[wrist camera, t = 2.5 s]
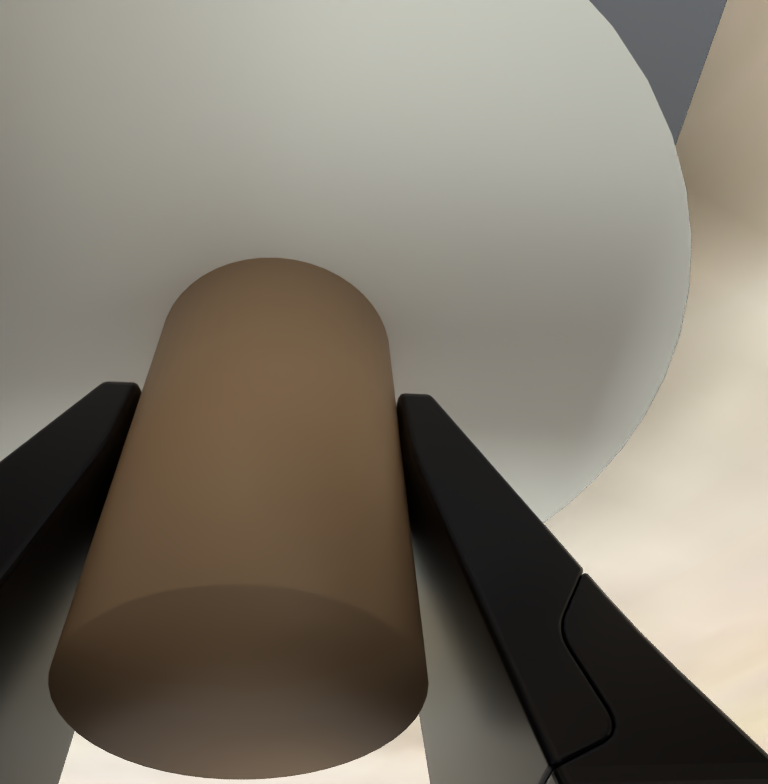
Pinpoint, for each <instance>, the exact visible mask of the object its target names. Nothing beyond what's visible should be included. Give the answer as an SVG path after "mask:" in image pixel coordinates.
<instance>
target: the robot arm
mask: <svg viewBox="0 0 768 784" xmlns="http://www.w3.org/2000/svg"><path fill="white" fill-rule="evenodd" d="M140 396H141V389H140V387H139V385H138V384H136V383H134V382H116V381H107V382H103V383H101V384H100V385H98V386H97V387H96V388H94V389H93V390H92V391H91V392H89V393H88V394H87V395H85V396H84V397H83V398H82V399H80V400H79V401H78V402H76V403H75V404H74V405H73V406H71V407H70V408H69V409H67V410H66V411H65V412H63V413H62V414H61V415H60V416H58V417H57V418H56V419H54V420H53V421H52V422H51V423H49V424H48V425H47V426H45V427H44V428H43V429H41V430H40V431H39V432H38V433H36V434H35V435H34V436H32V437H31V438H30V439H29V440H27V441H26V442H25V443H23V444H22V445H21V446H20V447H18V448H17V449H16V450H14V451H13V452H12V453H10V454H9V455H8V456H7V457H5V458H4V459H3V460H1V461H0V784H58V783H59V780H60V776H61V773H62V770H63V767H64V763H65V760H66V757H67V754H68V750H69V747H70V744H71V741H72V738H73V734H74V731H75V730H74V729H73V728H71V727H70V726H69V725H68V724H67V723H66V722H65V720H64V719H63V718H62V716H61V715H60V714H59V713H58V711H57V709H56V707H55V705H54V703H53V701H52V699H51V696H50V691H49V687H48V677H49V670H50V666H51V663H52V660H53V657H54V654H55V651H56V648H57V645H58V642H59V639H60V636H61V633H62V630H63V627H64V624H65V621H66V618H67V615H68V612H69V609H70V606H71V603H72V600H73V597H74V594H75V591H76V588H77V585H78V582H79V579H80V576H81V573H82V570H83V567H84V564H85V561H86V558H87V555H88V552H89V549H90V546H91V543H92V540H93V537H94V534H95V531H96V528H97V525H98V522H99V519H100V516H101V513H102V510H103V507H104V504H105V501H106V498H107V495H108V492H109V489H110V486H111V483H112V480H113V477H114V474H115V471H116V468H117V465H118V462H119V459H120V456H121V453H122V450H123V447H124V444H125V441H126V438H127V435H128V432H129V429H130V426H131V423H132V420H133V417H134V414H135V411H136V408H137V405H138V402H139V399H140ZM396 409H397V417H398V426H399V434H400V443H401V451H402V460H403V468H404V477H405V485H406V494H407V502H408V511H409V519H410V528H411V536H412V545H413V553H414V562H415V570H416V579H417V587H418V596H419V604H420V613H421V621H422V630H423V638H424V647H425V655H426V664H427V673H428V682H429V686H428V693H427V697H426V700H425V703H424V705H423V708H422V709H421V711H420V712H419V717H420V723H421V729H422V735H423V741H424V748H425V754H426V760H427V766H428V772H429V778H430V784H768V754H767V753H766V752H765V751H764V750H763V749H762V748H761V747H760V746H759V745H758V744H756V743H755V742H754V741H753V740H752V739H751V738H750V737H749V736H748V735H747V734H746V733H745V732H744V731H743V730H742V729H741V728H740V727H738V726H737V725H736V724H735V723H734V722H733V721H732V720H731V719H730V718H729V717H728V716H727V715H726V714H725V713H724V712H723V711H722V710H721V709H719V708H718V707H717V706H716V705H715V704H714V703H713V702H712V701H711V700H710V699H709V698H708V697H707V696H706V695H705V694H704V693H703V692H702V691H700V690H699V689H698V688H697V687H696V686H695V685H694V684H693V683H692V682H691V681H690V680H689V679H688V678H687V677H686V676H685V675H684V674H683V673H681V672H680V671H679V670H678V669H677V668H676V667H675V666H674V665H673V664H672V663H671V662H670V661H669V660H668V659H667V658H666V657H665V656H664V655H663V654H662V653H661V652H660V651H659V650H658V649H657V648H656V647H655V646H654V645H653V644H652V643H651V642H650V641H649V640H648V639H647V638H646V637H645V636H644V635H643V634H642V633H641V632H640V631H639V630H638V629H637V628H636V627H635V626H634V625H633V623H632V622H631V621H630V620H629V619H628V618H627V617H626V616H625V615H624V614H623V613H622V612H621V610H620V609H619V608H618V607H617V606H616V605H615V604H614V603H613V602H612V601H611V600H610V599H609V597H608V596H607V595H606V594H605V593H604V592H603V591H602V590H601V588H600V587H599V586H598V585H597V584H596V583H595V582H594V580H593V579H592V578H591V577H590V576H589V575H588V574H586V573H584V574H582V573H583V568H582V567H581V566H580V565H579V564H578V562H577V561H576V560H575V559H574V558H573V557H572V556H571V554H570V553H569V552H568V551H567V550H566V549H565V548H564V546H563V545H562V544H561V543H560V542H559V541H558V540H557V538H556V537H555V536H554V535H553V534H552V533H551V532H550V530H549V529H548V528H547V527H546V526H545V525H544V524H543V522H542V521H541V520H540V519H539V518H538V517H537V516H536V514H535V513H534V512H533V511H532V510H531V509H530V508H529V506H528V505H527V504H526V503H525V502H524V501H523V500H522V498H521V497H520V496H519V495H518V494H517V493H516V492H515V490H514V489H513V488H512V487H511V486H510V485H509V484H508V482H507V481H506V480H505V479H504V478H503V477H502V476H501V474H500V473H499V472H498V471H497V470H496V469H495V468H494V466H493V465H492V464H491V463H490V462H489V461H488V460H487V458H486V457H485V456H484V455H483V454H482V453H481V452H480V450H479V449H478V448H477V447H476V446H475V445H474V444H473V442H472V441H471V440H470V439H469V438H468V437H467V436H466V434H465V433H464V432H463V431H462V430H461V429H460V428H459V426H458V425H457V424H456V423H455V422H454V421H453V420H452V418H451V417H450V416H449V415H448V414H447V413H446V412H445V410H444V409H443V408H442V407H441V406H440V405H439V404H438V402H437V401H436V400H435V399H434V398H433V397H432V396H430V395H428V394H412V393H403V394H401V395H400V396H399V398H398V400H397V406H396ZM581 575H582V576H581Z"/></svg>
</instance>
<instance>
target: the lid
mask: <svg viewBox="0 0 768 784" xmlns="http://www.w3.org/2000/svg"><path fill="white" fill-rule="evenodd" d="M691 243H692V239H691V229H690V219H689V210H688V200H687V190H686V185H685V182H684V178H683V174H682V170H681V166H680V163H679V159H678V155H677V151H676V148H675V144H674V140H673V136H672V133H671V131H670V129H669V127H668V124H667V122H666V120H665V118H664V115H663V113H662V111H661V109H660V106H659V104H658V102H657V100H656V97H655V95H654V93H653V91H652V88H651V86H650V84H649V82H648V80H647V78H646V77H645V75H644V74H643V72H642V71H641V69H640V67H639V66H638V64H637V63H636V61H635V60H634V58H633V57H632V55H631V54H630V52H629V51H628V49H627V47H626V46H625V44H624V43H623V41H622V40H621V38H620V37H619V35H618V34H617V32H616V31H615V29H614V28H613V26H612V25H611V24H610V23H609V22H608V21H607V20H606V18H605V17H604V16H603V15H602V14H601V13H600V12H599V11H598V10H597V8H596V7H595V6H594V5H593V4H592V3H591V2H590V1H589V0H0V461H1V460H3V459H4V458H5V457H7V456H8V455H9V454H10V453H12V452H13V451H14V450H16V449H17V448H18V447H20V446H21V445H22V444H23V443H25V442H26V441H27V440H29V439H30V438H31V437H32V436H34V435H35V434H36V433H38V432H39V431H40V430H41V429H43V428H44V427H45V426H47V425H48V424H49V423H51V422H52V421H53V420H54V419H56V418H57V417H58V416H60V415H61V414H62V413H63V412H65V411H66V410H67V409H69V408H70V407H71V406H73V405H74V404H75V403H76V402H78V401H79V400H80V399H82V398H83V397H84V396H85V395H87V394H88V393H89V392H91V391H92V390H93V389H94V388H96V387H97V386H98V385H100V384H101V383H103V382H107V381H116V382H134V383H136V384H138V385H139V387H140V389H141V396H140V399H139V402H138V405H137V408H136V411H135V414H134V417H133V420H132V423H131V426H130V429H129V432H128V435H127V438H126V441H125V444H124V447H123V450H122V453H121V456H120V459H119V462H118V465H117V468H116V471H115V474H114V477H113V480H112V483H111V486H110V489H109V492H108V495H107V498H106V501H105V504H104V507H103V510H102V513H101V516H100V519H99V522H98V525H97V528H96V531H95V534H94V537H93V540H92V543H91V546H90V549H89V552H88V555H87V558H86V561H85V564H84V567H83V570H82V573H81V576H80V579H79V582H78V585H77V588H76V591H75V594H74V597H73V600H72V603H71V606H70V609H69V612H68V615H67V618H66V621H65V624H64V627H63V630H62V633H61V636H60V639H59V642H58V645H57V648H56V651H55V654H54V657H53V660H52V663H51V666H50V670H49V677H48V687H49V691H50V696H51V699H52V701H53V703H54V705H55V707H56V709H57V711H58V713H59V714H60V715H61V716H62V718H63V719H64V720H65V722H66V723H67V724H68V725H69V726H70V727H71V728H73V729H74V730H75V731H76V732H77V733H78V734H79V735H81V736H82V737H84V738H85V739H86V740H88V741H89V742H91V743H92V744H94V745H96V746H98V747H99V748H101V749H103V750H105V751H107V752H109V753H111V754H113V755H116V756H118V757H120V758H123V759H125V760H127V761H130V762H133V763H136V764H139V765H142V766H146V767H149V768H153V769H157V770H161V771H165V772H170V773H176V774H181V775H187V776H195V777H203V778H216V779H267V778H277V777H287V776H294V775H300V774H306V773H311V772H315V771H319V770H324V769H328V768H331V767H335V766H338V765H341V764H344V763H347V762H350V761H353V760H355V759H358V758H360V757H363V756H365V755H367V754H369V753H371V752H373V751H375V750H377V749H379V748H381V747H382V746H384V745H385V744H387V743H389V742H390V741H392V740H393V739H395V738H396V737H397V736H398V735H400V734H401V733H402V732H403V731H404V730H406V729H407V727H408V726H409V725H410V724H411V723H412V722H413V721H414V720H415V719H416V717H417V716H418V714H419V712H420V711H421V709H422V708H423V705H424V703H425V700H426V697H427V693H428V686H429V682H428V673H427V664H426V655H425V647H424V638H423V630H422V621H421V613H420V604H419V596H418V587H417V579H416V570H415V562H414V553H413V545H412V536H411V528H410V519H409V511H408V502H407V494H406V485H405V477H404V468H403V460H402V451H401V443H400V434H399V426H398V417H397V409H396V406H397V400H398V398H399V396H400V395H401V394H403V393H412V394H428V395H430V396H432V397H433V398H434V399H435V400H436V401H437V402H438V404H439V405H440V406H441V407H442V408H443V409H444V410H445V412H446V413H447V414H448V415H449V416H450V417H451V418H452V420H453V421H454V422H455V423H456V424H457V425H458V426H459V428H460V429H461V430H462V431H463V432H464V433H465V434H466V436H467V437H468V438H469V439H470V440H471V441H472V442H473V444H474V445H475V446H476V447H477V448H478V449H479V450H480V452H481V453H482V454H483V455H484V456H485V457H486V458H487V460H488V461H489V462H490V463H491V464H492V465H493V466H494V468H495V469H496V470H497V471H498V472H499V473H500V474H501V476H502V477H503V478H504V479H505V480H506V481H507V482H508V484H509V485H510V486H511V487H512V488H513V489H514V490H515V492H516V493H517V494H518V495H519V496H520V497H521V498H522V500H523V501H524V502H525V503H526V504H527V505H528V506H529V508H530V509H531V510H532V511H533V512H534V513H535V514H536V516H537V517H538V518H539V519H540V520H541V521H542V522H545V521H546V520H547V519H549V518H550V517H552V516H553V515H554V514H556V513H557V512H558V511H560V510H561V509H562V508H564V507H565V506H566V505H567V504H568V503H570V502H571V501H572V500H573V499H574V498H575V497H576V496H577V495H578V494H579V493H581V492H582V491H583V490H584V489H585V488H586V487H587V486H588V485H589V484H590V483H592V482H593V481H594V480H595V479H596V478H597V476H598V475H599V474H600V473H601V472H602V471H603V470H604V468H605V467H606V466H607V465H608V464H609V463H610V462H611V461H612V459H613V458H614V457H615V456H616V455H617V454H618V453H619V451H620V450H621V449H622V448H623V446H624V445H625V443H626V442H627V440H628V439H629V438H630V436H631V435H632V433H633V432H634V430H635V429H636V427H637V426H638V424H639V423H640V422H641V420H642V419H643V417H644V416H645V414H646V412H647V410H648V408H649V406H650V405H651V403H652V401H653V399H654V397H655V395H656V393H657V391H658V389H659V387H660V385H661V383H662V381H663V379H664V377H665V375H666V372H667V369H668V367H669V364H670V361H671V358H672V355H673V352H674V350H675V347H676V344H677V341H678V338H679V336H680V331H681V326H682V322H683V317H684V312H685V307H686V302H687V297H688V292H689V281H690V262H691Z"/></svg>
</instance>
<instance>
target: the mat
mask: <svg viewBox="0 0 768 784" xmlns="http://www.w3.org/2000/svg"><path fill="white" fill-rule="evenodd" d="M589 1H590V2H591V3H592V4H593V5H594V6H595V7H596V8H597V10H598V11H599V12H600V13H601V14H602V15H603V16H604V17H605V18H606V20H607V21H608V22H609V23H610V24H611V25H612V26H613V28H614V29H615V31H616V32H617V34H618V35H619V37H620V38H621V40H622V41H623V43H624V44H625V46H626V47H627V49H628V51H629V52H630V54H631V55H632V57H633V58H634V60H635V61H636V63H637V64H638V66H639V67H640V69H641V71H642V72H643V74H644V75H645V77H646V78H647V80H648V82H649V84H650V86H651V88H652V91H653V93H654V95H655V97H656V100H657V102H658V104H659V106H660V109H661V111H662V113H663V115H664V118H665V120H666V122H667V124H668V127H669V129H670V131H671V133H672V136H673V140H674V144H675V145H676V142H677V139H678V136H679V134H680V131H681V128H682V125H683V122H684V119H685V117H686V114H687V111H688V108H689V105H690V103H691V100H692V97H693V94H694V91H695V89H696V86H697V83H698V80H699V77H700V75H701V72H702V69H703V66H704V63H705V61H706V58H707V55H708V52H709V49H710V47H711V44H712V41H713V38H714V35H715V33H716V30H717V27H718V24H719V21H720V19H721V16H722V13H723V10H724V7H725V5H726V2H727V0H589Z"/></svg>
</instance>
